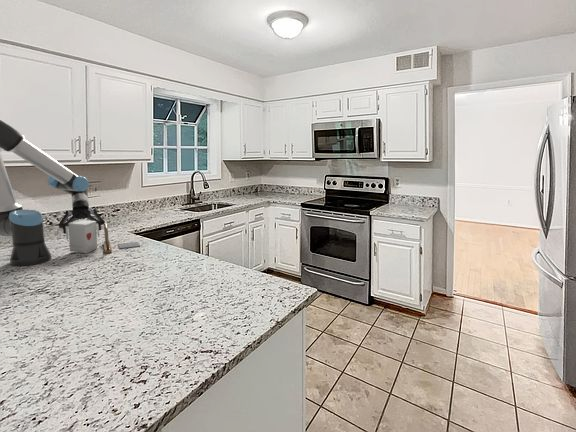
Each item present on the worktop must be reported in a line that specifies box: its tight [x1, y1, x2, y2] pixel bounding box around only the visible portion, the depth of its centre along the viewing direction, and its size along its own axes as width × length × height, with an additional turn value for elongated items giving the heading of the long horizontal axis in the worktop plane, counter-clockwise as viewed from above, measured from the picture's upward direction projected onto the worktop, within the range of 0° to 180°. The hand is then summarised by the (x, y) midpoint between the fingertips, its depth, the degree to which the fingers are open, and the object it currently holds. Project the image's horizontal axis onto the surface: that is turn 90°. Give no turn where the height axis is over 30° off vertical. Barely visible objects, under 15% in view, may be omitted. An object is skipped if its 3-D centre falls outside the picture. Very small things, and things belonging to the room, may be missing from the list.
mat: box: [118, 241, 141, 250], centre depth 184 cm, size 10×10×1 cm
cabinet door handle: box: [103, 220, 113, 254], centre depth 178 cm, size 3×22×15 cm, turn 30°
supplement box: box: [68, 219, 98, 254], centre depth 172 cm, size 9×9×15 cm
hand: (83, 236), depth 171 cm, fingers open, 13 cm apart
